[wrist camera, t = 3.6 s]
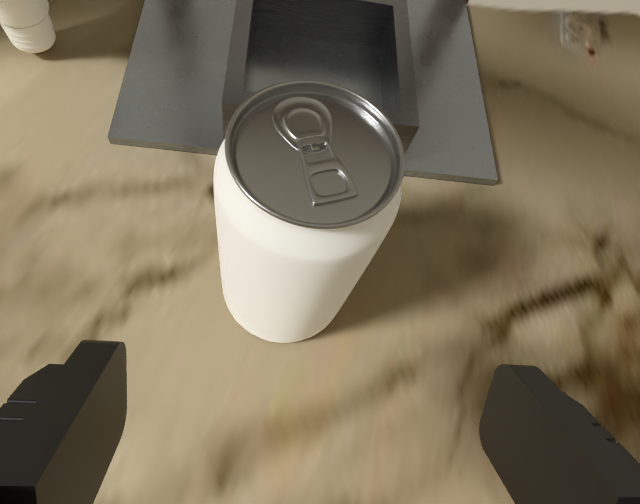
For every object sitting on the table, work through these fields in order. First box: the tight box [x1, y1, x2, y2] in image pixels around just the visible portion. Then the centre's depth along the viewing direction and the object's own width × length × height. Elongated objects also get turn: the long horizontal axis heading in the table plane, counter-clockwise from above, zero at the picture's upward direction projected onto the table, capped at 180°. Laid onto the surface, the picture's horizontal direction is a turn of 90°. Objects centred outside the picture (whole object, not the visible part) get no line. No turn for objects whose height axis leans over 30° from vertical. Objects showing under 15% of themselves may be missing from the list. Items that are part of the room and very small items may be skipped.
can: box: [214, 79, 405, 343], centre depth 19 cm, size 6×6×12 cm
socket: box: [108, 0, 498, 185], centre depth 31 cm, size 20×24×4 cm
